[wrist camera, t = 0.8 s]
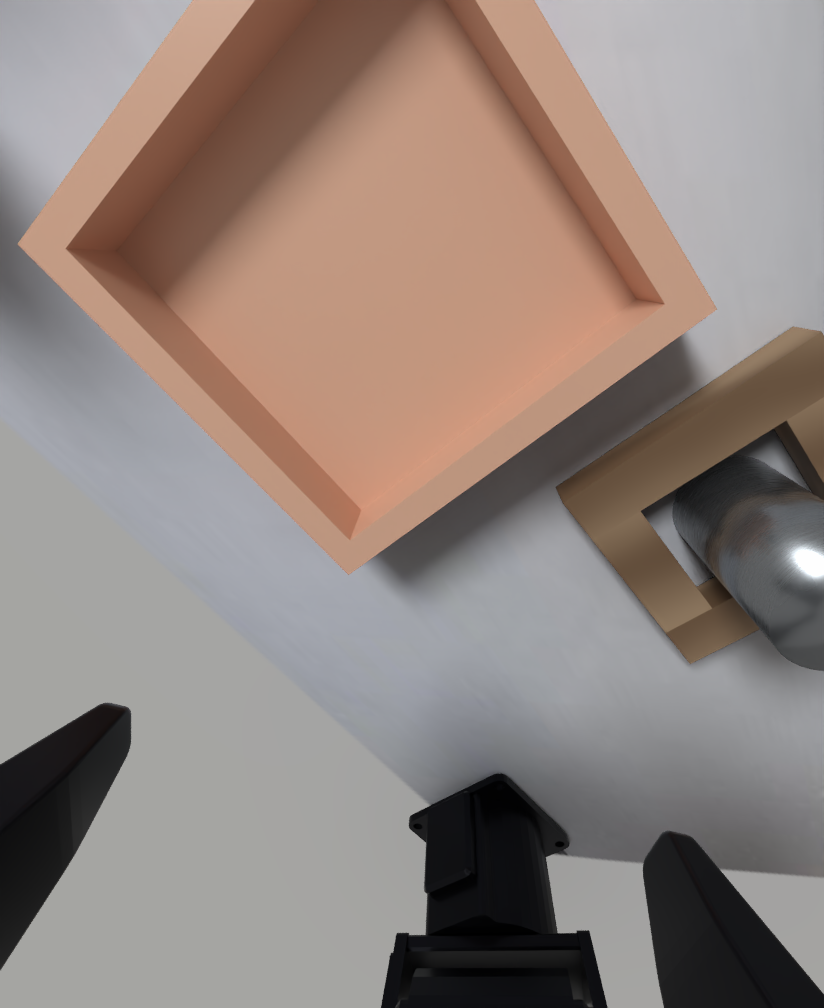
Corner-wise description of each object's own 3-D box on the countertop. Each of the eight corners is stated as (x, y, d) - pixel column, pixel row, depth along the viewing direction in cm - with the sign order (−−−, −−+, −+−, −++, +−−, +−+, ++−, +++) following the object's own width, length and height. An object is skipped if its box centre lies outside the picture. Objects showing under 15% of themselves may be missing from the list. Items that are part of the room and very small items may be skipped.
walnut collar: (901, 523, 20) (933, 542, 19) (676, 640, 23) (690, 663, 22) (793, 326, 18) (821, 331, 16) (555, 487, 21) (562, 502, 19)
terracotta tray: (669, 301, 18) (717, 309, 14) (363, 530, 22) (348, 574, 19) (397, -138, 14) (379, -260, 10) (93, 247, 18) (17, 243, 15)
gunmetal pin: (799, 512, 20) (958, 624, 14) (703, 566, 22) (807, 692, 15) (752, 435, 19) (899, 519, 13) (653, 497, 20) (743, 601, 14)
